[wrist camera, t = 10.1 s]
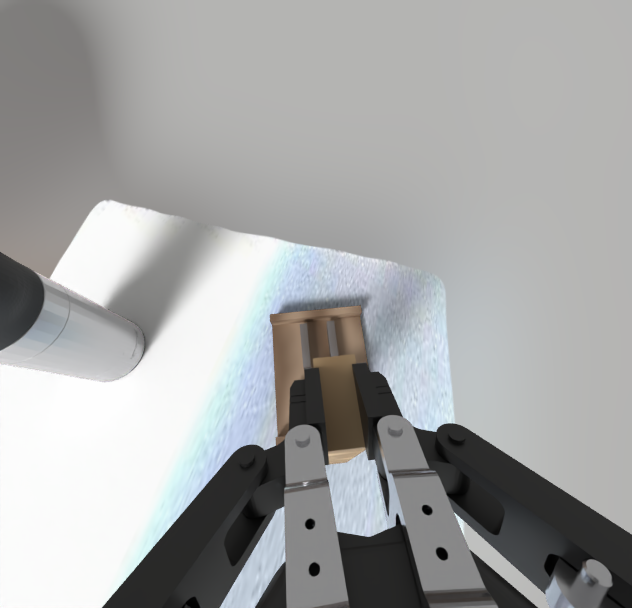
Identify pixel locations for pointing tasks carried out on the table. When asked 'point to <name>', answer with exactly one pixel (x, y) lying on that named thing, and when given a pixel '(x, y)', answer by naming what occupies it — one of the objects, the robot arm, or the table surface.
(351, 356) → the oak slat
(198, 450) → the table surface
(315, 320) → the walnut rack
